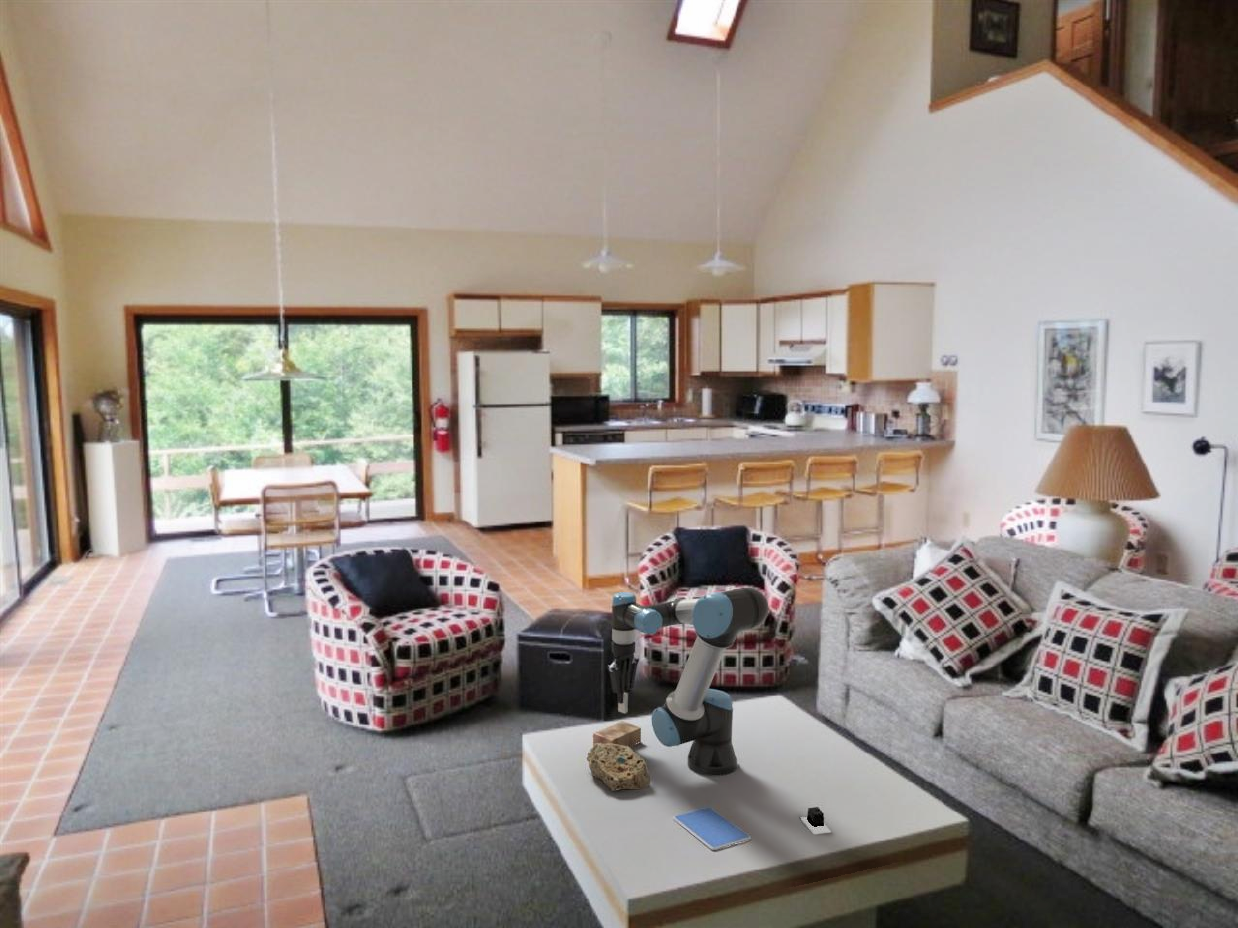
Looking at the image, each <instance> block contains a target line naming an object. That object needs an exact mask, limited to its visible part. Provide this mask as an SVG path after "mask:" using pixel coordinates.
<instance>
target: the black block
mask: <svg viewBox="0 0 1238 928" xmlns="http://www.w3.org/2000/svg"><path fill="white" fill-rule="evenodd" d="M824 815H825V813H824V812H823V811H822V810H821V809H820V808H819V807H818V806H815V807H808V808H807V820H808V822H809V823H810V824H811V825H812V826H814V827H817V826H824V823H825V817H824Z"/></svg>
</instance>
